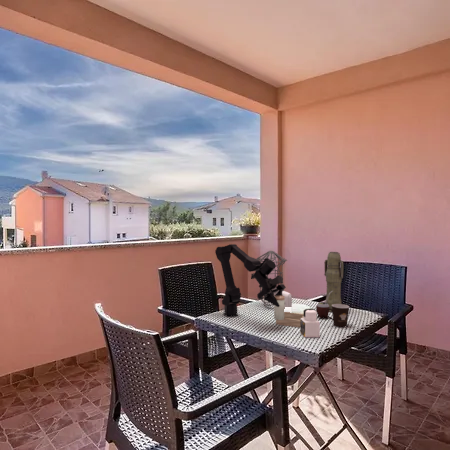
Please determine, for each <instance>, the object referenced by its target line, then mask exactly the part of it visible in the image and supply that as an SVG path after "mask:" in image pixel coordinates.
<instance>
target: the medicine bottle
mask: <svg viewBox="0 0 450 450" xmlns="http://www.w3.org/2000/svg"><path fill="white" fill-rule="evenodd" d="M302 314H303V318H301V319H300V327H299V328H300V329H299V331H300V334H301V335H302V336H303V337H304V338H320V334H321V333H320V331H321V330H320V329H321V327H320V326H321V324H320V321H319V320H318V319H317V318H318V317H317V316H318V314H317V311H316V309H314V308H305V309H304V310H303V313H302Z"/></svg>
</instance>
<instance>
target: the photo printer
mask: <svg viewBox="0 0 450 450" xmlns="http://www.w3.org/2000/svg"><path fill="white" fill-rule="evenodd" d="M282 295H283V296H285V307H292V308H293V306H292V305H293V304H292V303H293V295H292V294H291V293H290V292H288V291H285V290H284V291H282Z"/></svg>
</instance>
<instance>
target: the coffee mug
mask: <svg viewBox="0 0 450 450" xmlns="http://www.w3.org/2000/svg"><path fill="white" fill-rule="evenodd" d="M327 310H331V311H332V317H331V316H329V314H328V315H327V314H326V312H327ZM327 310H326V311H325V314H326V315H327V316H328V319H330V320H332V321H333V323H332V324H333V326H334V327H336V326H337V328H346V327H345V326H348V320H349V319H348V318H349V313H350V306H349V305H347V304H342V303H341V304H333V305H332V309H327Z"/></svg>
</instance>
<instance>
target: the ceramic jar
mask: <svg viewBox="0 0 450 450" xmlns="http://www.w3.org/2000/svg"><path fill="white" fill-rule="evenodd" d="M274 297H275V298H276V300H277V302H278V303H279V305H280V306H279V307H277V306H275V305H273V309H274V310H273V312H274V313H273V315H274V316H273V318H274V319H275V320H276V319H277V320H283V319H284V309H285V296H283V295H275V296H274Z"/></svg>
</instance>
